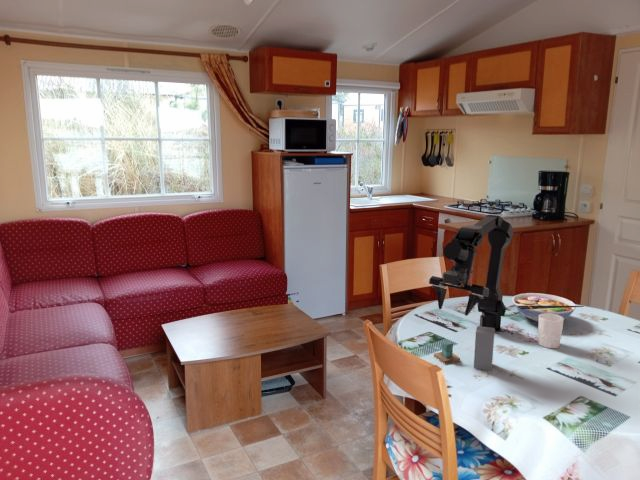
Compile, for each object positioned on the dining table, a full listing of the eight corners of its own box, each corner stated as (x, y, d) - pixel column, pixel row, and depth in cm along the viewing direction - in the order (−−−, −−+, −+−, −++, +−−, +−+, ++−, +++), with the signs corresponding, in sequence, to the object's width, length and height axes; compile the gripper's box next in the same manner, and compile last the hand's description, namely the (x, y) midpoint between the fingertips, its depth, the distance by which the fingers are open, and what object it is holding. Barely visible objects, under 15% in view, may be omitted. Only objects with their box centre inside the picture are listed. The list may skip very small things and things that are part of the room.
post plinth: (449, 353, 168) (450, 338, 167) (460, 361, 162) (461, 345, 161) (433, 356, 166) (434, 340, 165) (444, 363, 160) (444, 347, 159)
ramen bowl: (558, 309, 209) (560, 290, 207) (589, 330, 186) (591, 309, 185) (499, 310, 208) (500, 291, 206) (522, 332, 185) (524, 310, 184)
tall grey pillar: (475, 361, 162) (477, 325, 160) (492, 363, 160) (494, 328, 158) (473, 367, 157) (475, 331, 155) (491, 370, 156) (493, 334, 153)
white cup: (561, 342, 176) (563, 315, 174) (561, 350, 169) (564, 322, 167) (536, 338, 180) (539, 311, 177) (535, 346, 173) (538, 319, 170)
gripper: (426, 256, 164) (415, 303, 163) (481, 265, 152) (469, 316, 151) (441, 262, 172) (431, 306, 171) (494, 271, 160) (484, 320, 159)
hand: (452, 312), depth 163 cm, fingers open, 9 cm apart
